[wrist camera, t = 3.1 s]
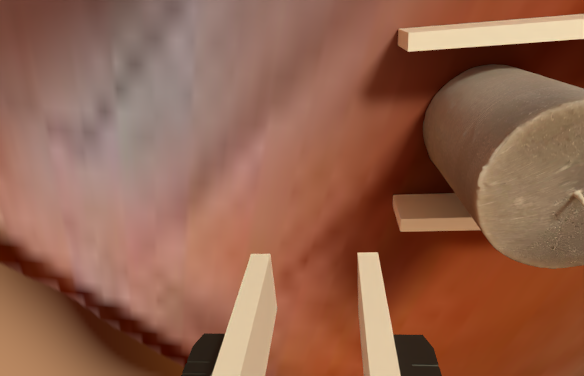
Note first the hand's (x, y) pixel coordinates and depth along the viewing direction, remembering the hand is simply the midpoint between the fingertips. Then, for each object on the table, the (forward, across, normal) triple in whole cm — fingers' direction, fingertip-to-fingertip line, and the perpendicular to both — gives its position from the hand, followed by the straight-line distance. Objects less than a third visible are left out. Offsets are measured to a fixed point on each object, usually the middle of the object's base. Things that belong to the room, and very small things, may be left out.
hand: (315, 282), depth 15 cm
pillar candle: (+21, +13, 0) cm, 25 cm away
